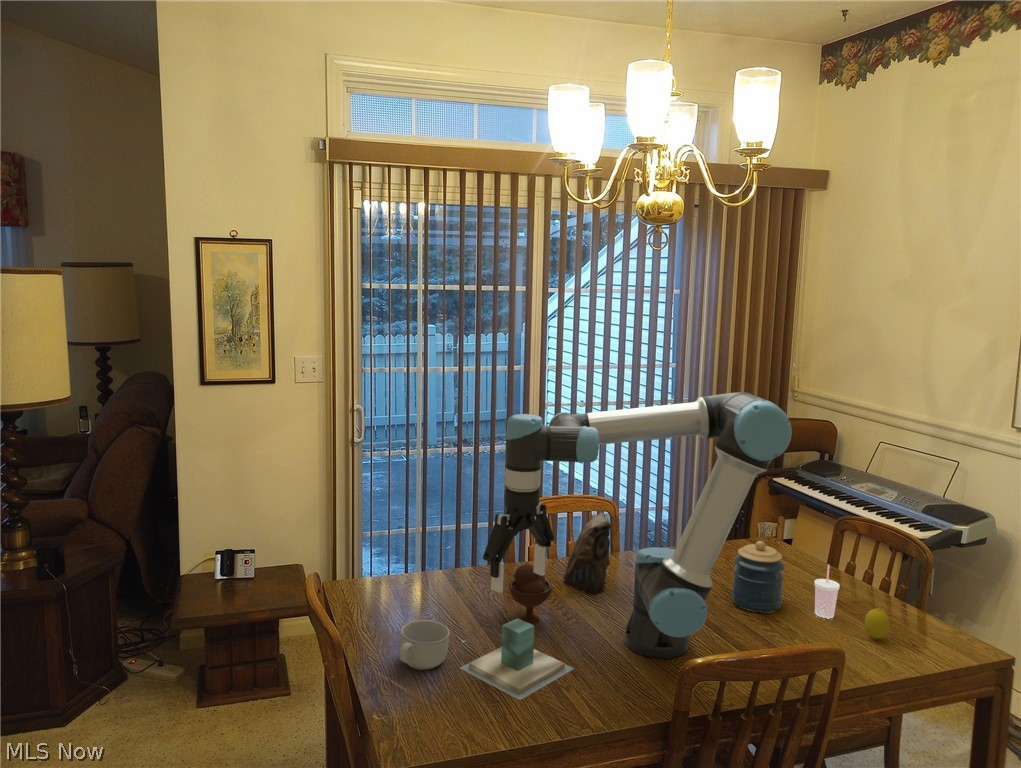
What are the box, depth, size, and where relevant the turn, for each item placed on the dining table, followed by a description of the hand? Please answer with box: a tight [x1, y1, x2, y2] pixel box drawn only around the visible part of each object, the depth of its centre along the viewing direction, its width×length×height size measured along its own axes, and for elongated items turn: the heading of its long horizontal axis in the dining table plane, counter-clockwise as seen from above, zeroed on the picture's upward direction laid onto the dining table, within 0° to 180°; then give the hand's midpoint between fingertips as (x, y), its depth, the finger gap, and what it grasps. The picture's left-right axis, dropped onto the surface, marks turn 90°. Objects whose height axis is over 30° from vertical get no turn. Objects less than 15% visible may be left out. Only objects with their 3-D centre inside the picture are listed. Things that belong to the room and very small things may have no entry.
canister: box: [731, 540, 786, 612], centre depth 204 cm, size 13×13×18 cm
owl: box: [562, 511, 612, 596], centre depth 213 cm, size 13×13×20 cm
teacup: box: [398, 619, 451, 671], centre depth 168 cm, size 14×11×8 cm
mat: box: [459, 662, 575, 701], centre depth 168 cm, size 18×18×1 cm
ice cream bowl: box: [508, 563, 553, 625], centre depth 191 cm, size 11×11×15 cm
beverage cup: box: [814, 564, 840, 619], centre depth 198 cm, size 6×6×14 cm
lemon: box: [864, 607, 891, 640], centre depth 186 cm, size 6×6×8 cm
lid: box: [469, 617, 566, 695], centre depth 167 cm, size 15×15×10 cm
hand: (518, 582), depth 165 cm, fingers open, 13 cm apart
